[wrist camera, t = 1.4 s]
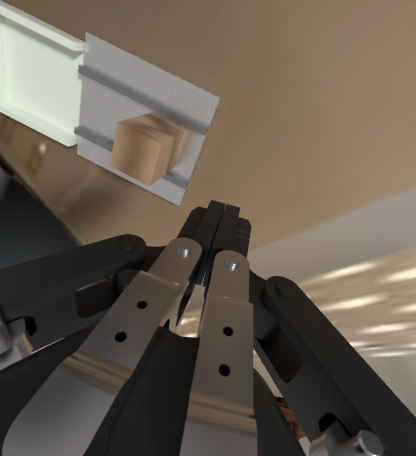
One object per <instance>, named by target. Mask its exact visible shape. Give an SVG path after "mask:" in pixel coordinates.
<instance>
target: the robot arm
mask: <svg viewBox="0 0 416 456" xmlns="http://www.w3.org/2000/svg"><path fill="white" fill-rule="evenodd" d="M224 208H225V210H224ZM239 211H240V207H236V206H232V205H229V204H226V207H225V203H221V202H217V201H214V200H211V202H210V204H209V206H208V208H207V209H206V208H202V207H197V208H195V209H194V210H192V211H191V213H190V215H189V217H188V218H187V220H186V222H185V224H184V226H183V227H182V229H181V231H180V233H179V234H178V236H177V238H176V239H173V240H172V241H170V242H169V244H168V245H166V246H161V247H152V246H146V243H145V241H144V240H143V239H142V238H140V237H138V236H136V235H130V234H125V235H120V236H116V237H112V238H109V239H105V240H102V241H98V242H95V243H91V244H88V245H84V246H81V247H77V248H74V249H70V250H67V251H63V252H60V253H56V254H52V255H49V256H45V257H42V258H38V259H35V260H31V261H28V262H24V263H21V264H18V265H14V266H10V267H7V268H3V269H0V456H306V454H305V453H304V451H303V449H302V447H301V445H300V443H299V441H298V440H297V438H296V436H295V434H294V432H293V430H292V429H291V427H290V425H289V423H288V421H287V419H286V417H285V416H284V414H283V412H282V410H281V408H280V406H279V405H278V403H277V401H276V399H275V397H274V395H273V393H272V392H271V390H270V388H269V386H268V385H267V383H266V382H265V380H264V379H263V378H262V376H261V375H260V374H259V373H258V372H257V371H256V370H255V369H254V368H253V348H254V349H255V351H256V353H257V354H258V356H259V358H260V359H261V361H262V363H263V364H264V366H265V368H266V369H267V371H268V373H269V374H270V376H271V378H272V379H273V381H274V383H275V384H276V386H277V388H278V389H279V391H280V393H281V394H282V396H283V398H284V399H285V401H286V403H287V404H288V406H289V408H290V409H291V411H292V413H293V414H294V416H295V418H296V419H297V421H298V423H299V424H300V426H301V428H302V429H303V431H304V433H305V434H306V436H307V438H308V439H309V441H310V443H311V445H310V450H309V456H416V417H415V416H414V415H413V414H412V413H411V412H410V411H409V409H408V408H407V407H406V406H405V405H404V404H403V403H402V402H401V401H400V399H399V398H398V397H397V396H396V395H395V394H394V393H393V392H392V390H391V389H390V388H389V387H388V386H387V385H386V384H385V383H384V382H383V380H382V379H381V378H380V377H379V376H378V375H377V374H376V373H375V372H374V370H373V369H372V368H371V367H370V366H369V365H368V364H367V363H366V361H365V360H364V359H363V358H362V357H361V356H360V355H359V354H358V353H357V351H356V350H355V349H354V348H353V347H352V346H351V345H350V344H349V342H348V341H347V340H346V339H345V338H344V337H343V336H342V335H341V334H340V332H339V331H338V330H337V329H336V328H335V327H334V326H333V325H332V324H331V322H330V321H329V320H328V319H327V318H326V317H325V316H324V315H323V313H322V312H321V311H320V310H319V309H318V308H317V307H316V306H315V305H314V303H313V302H312V301H311V300H310V299H309V298H308V297H307V296H306V294H305V293H304V292H303V291H302V290H301V289H300V288H299V287H298V286H297V285H296V284H295V283H294V282H293V281H291V280H289V279H287V278H284V277H280V276H273V277H270V278H268V279H267V281H266V280H264V279H263V278H261V277H259V276H257V275H256V274H255V273H253V272H252V271H251V270H250V268H249V262H248V260H247V253H248V246H249V239H250V233H251V225H250V223H249V221H248V220H247V219H243V218H239V217H238V216H239ZM205 272H206V273H205ZM204 275H205V277H204ZM109 276H110V279H109V280H107V281H104V282H102V283H99V284H96V285H94V286H91V287H88V288H86V289H83V290H80V291H78V292H76V291H77V290H78V289H80V288H81V287H83V286H84V285H88V284H90V283H93V282H96V281H98V280H101V279H104V278H106V277H109ZM203 277H204V281H203ZM202 281H203V286H204V287H206V288H205V292H204V303H203V308H202V312H201V317H200V322H199V327H198V332H197V337H196V338H193V337H181V336H179V335H177V334H176V332H177V330H178V328H179V325H180V323H181V321H182V319H183V317H184V315H185V313H186V310H187V308H188V306H189V304H190V301H191V300H192V296H193V292H194V288H195V285H196V284H198V285H201V284H202ZM100 320H101V321H100ZM98 321H100V322H99V323H96V322H98ZM94 323H96V324H94ZM92 324H93V325H92ZM90 325H91V326H90ZM85 327H86V328H85ZM72 333H73V334H72ZM70 334H71V335H70ZM68 335H69V336H68ZM66 336H67V337H66ZM64 337H65V338H64ZM61 338H63V339H61ZM59 339H61V340H59ZM57 340H59V341H57ZM55 341H57V342H56V343H53V342H55ZM51 343H53V344H51ZM49 344H51V345H49ZM46 345H49V346H47V347H45V348H44V349H41V350H39V351H37V352H35V353H33V354H31V353H32V352H34V351H35V350H38V349H40V348H42V347H44V346H46ZM30 354H31V355H30Z"/></svg>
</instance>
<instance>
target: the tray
mask: <svg viewBox="0 0 416 456" xmlns="http://www.w3.org/2000/svg"><path fill="white" fill-rule="evenodd" d="M84 51H85V42H84V41H82V40H80V39H78V38H76V37H74V36H72V35H70V34H68V33H66V32H64V31H62V30H60V29H58V28H56V27H54V26H52V25H50V24H48V23H46V22H43V21H41V20H39V19H37V18H35V17H33V16H31V15H29V14H27V13H25V12H23V11H21V10H19V9H17V8H15V7H13V6H11V5H9V4H7V3H5V2H3V1H1V0H0V112H1V113H3V114H5V115H7V116H9V117H11V118H13V119H15V120H17V121H19V122H21V123H23V124H25V125H27V126H29V127H31V128H33V129H35V130H37V131H38V132H40V133H42V134H44V135H46V136H48V137H50V138H52V139H54V140H56V141H58V142H60V143H62V144H64V145H66V146H68V147H69V146H72V145H75V144H78V135H77V134H75V133H74V127H77V126H79V118H80V104H81V91H82V77H83V75H82V74H80V73H78V65H83V64H84Z"/></svg>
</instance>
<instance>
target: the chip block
mask: <svg viewBox="0 0 416 456" xmlns="http://www.w3.org/2000/svg"><path fill="white" fill-rule="evenodd" d="M184 134H185V131H183V130H181V129H179V128H177V127H175V126H173V125H171V124H169V123H167V122H165V121H163V120H161V119H159V118H157V117H155V116H153V115H151V114H149V113H148V114H144V115H140V116H137V117H133V118H129V119H126V120H122V121H119V122H117V125H116V131H115V137H114V144H113V150H112V156H111V162H110V166H111V167H113V168H115V169H117V170H119V171H121V172H123V173H125V174H127V175H129V176H130V177H132V178H134V179H136V180H138V181H140V182H142V183H144V184H146V185H148V186H151V185H152V184H153V183H155V182H156V181H157V180H159V179H160V178H161V177H162V176H164V175H165V174H166V173H168V172H169V171H170V170H172V169H173V168H174V165H175V162H176V159H177V156H178V153H179V150H180V147H181V144H182V140H183V137H184Z"/></svg>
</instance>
